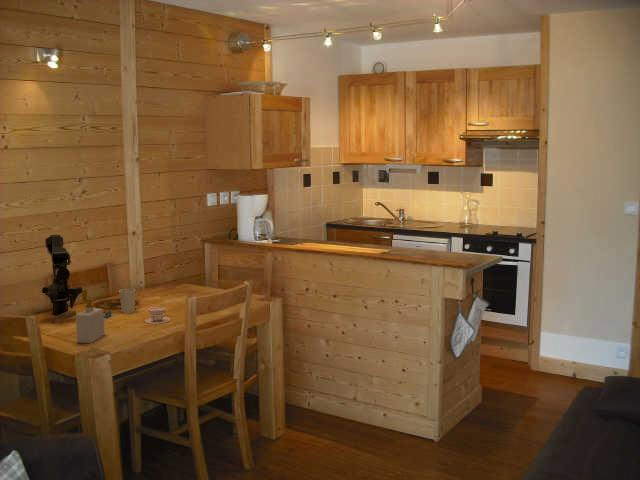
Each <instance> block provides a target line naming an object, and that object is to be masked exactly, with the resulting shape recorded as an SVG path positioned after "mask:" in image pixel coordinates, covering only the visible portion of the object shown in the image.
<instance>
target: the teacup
mask: <svg viewBox="0 0 640 480" xmlns="http://www.w3.org/2000/svg"><path fill="white" fill-rule="evenodd" d="M147 310H148V312H149V313H150V316H151V317H148V318H146V319H144V323H146V324H150V325H154V324H155V325H159V324H165V323H168V322H171V318H170V317H169V316H166V314H167V313H166V312H167V311H166V307H164V306H163V307H162V306H152V307H149V308H147Z"/></svg>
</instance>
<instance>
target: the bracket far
mask: <svg viewBox="0 0 640 480" xmlns="http://www.w3.org/2000/svg"><path fill="white" fill-rule="evenodd" d="M104 314H105V315H103V316H104V318H109V317H111V315H112V310H111V309H109V310H107V311H105V313H104Z"/></svg>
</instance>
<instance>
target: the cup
mask: <svg viewBox="0 0 640 480" xmlns="http://www.w3.org/2000/svg"><path fill="white" fill-rule="evenodd" d="M118 292H119V301H120V307H121V313H122V314H133V313H135V312H136V308H135V307H136V289H135V288H123V289H119V290H118Z"/></svg>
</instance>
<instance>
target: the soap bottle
mask: <svg viewBox="0 0 640 480" xmlns="http://www.w3.org/2000/svg"><path fill="white" fill-rule="evenodd" d="M92 288H93V286H91V287H88V288H85V289H82V293H81V298H82V301H84V302H85V303H86V304H85V305H84V308H85V310H83V311H81V312H78V313H76V315H75V326H76V341H77V343H80V344H82V343H84V344H91V343H93V342H95V341H97V340H99V339H101V338H103V337H104V336H105V321H104V316H103V314H104V308H95V307H94V304H92V303H93V300H95V299H94V298H88V296H87V294H88V293H87V290H90V289H92Z"/></svg>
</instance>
